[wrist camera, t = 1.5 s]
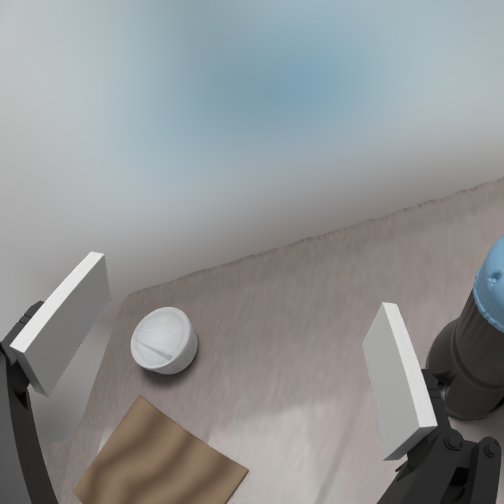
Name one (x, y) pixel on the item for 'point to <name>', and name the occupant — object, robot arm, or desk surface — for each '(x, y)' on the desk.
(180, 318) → the ramekin
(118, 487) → the walnut board
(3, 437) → the robot arm
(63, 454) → the desk surface
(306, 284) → the desk surface
